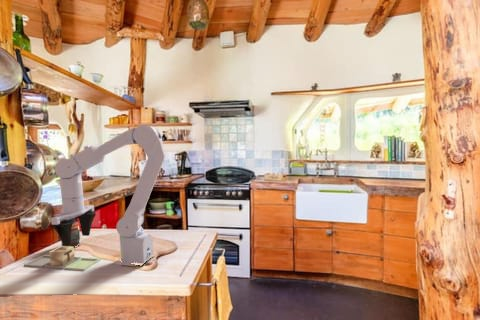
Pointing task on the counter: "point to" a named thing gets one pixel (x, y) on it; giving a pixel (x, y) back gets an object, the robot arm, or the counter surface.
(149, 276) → the counter surface
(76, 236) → the supplement bottle
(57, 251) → the letter block
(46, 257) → the far dish
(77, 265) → the green dish
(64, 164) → the robot arm
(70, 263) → the middle dish
